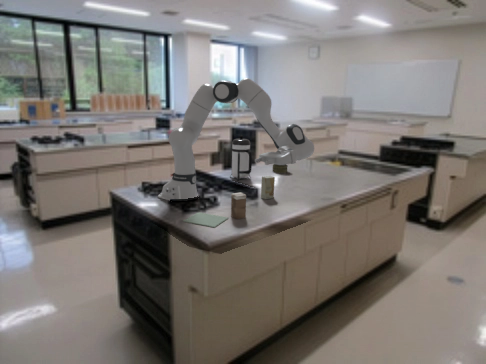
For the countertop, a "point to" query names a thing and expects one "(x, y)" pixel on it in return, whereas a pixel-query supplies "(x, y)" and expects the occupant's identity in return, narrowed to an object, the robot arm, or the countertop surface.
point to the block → (238, 205)
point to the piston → (279, 168)
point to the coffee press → (241, 158)
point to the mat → (206, 219)
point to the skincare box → (267, 187)
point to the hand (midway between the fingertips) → (260, 162)
